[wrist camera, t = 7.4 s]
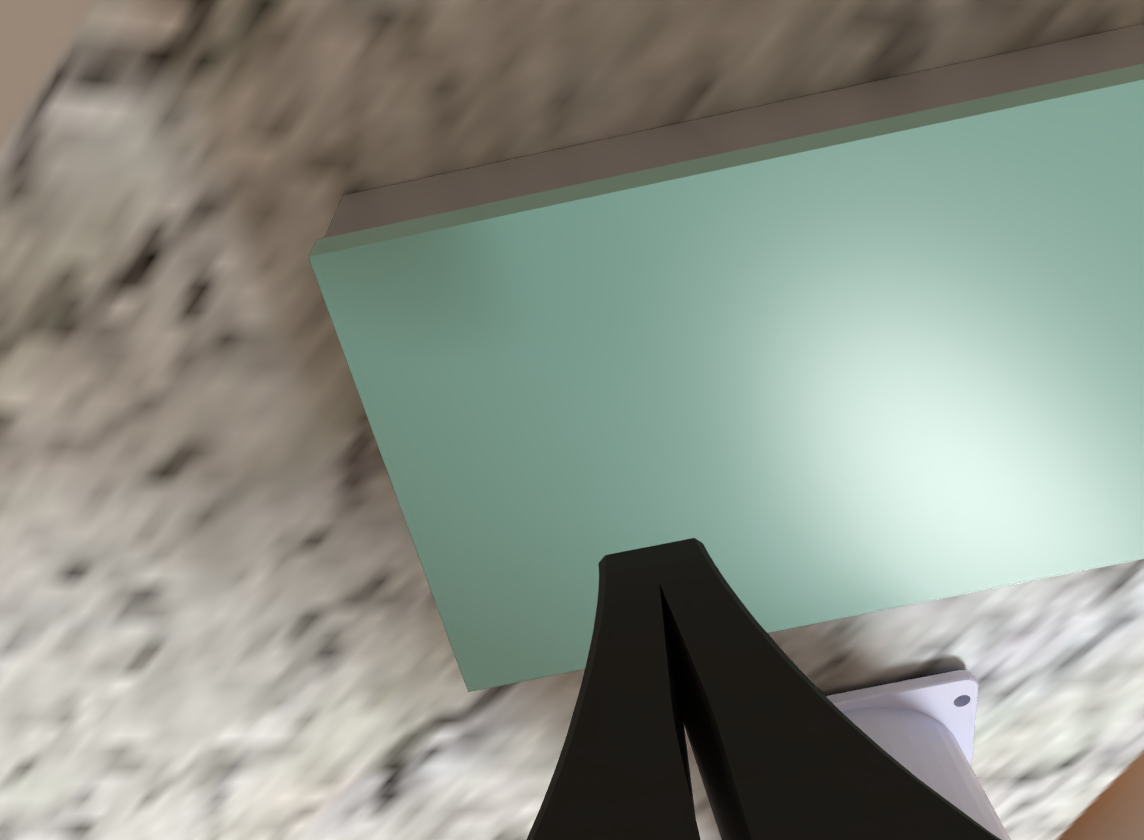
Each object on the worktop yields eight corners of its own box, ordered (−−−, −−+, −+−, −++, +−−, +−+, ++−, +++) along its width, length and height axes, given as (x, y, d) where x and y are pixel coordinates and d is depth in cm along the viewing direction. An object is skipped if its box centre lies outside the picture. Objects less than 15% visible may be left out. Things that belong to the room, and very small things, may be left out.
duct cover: (1416, 477, 20) (1449, 498, 19) (469, 665, 20) (468, 691, 20) (1616, -38, 14) (1672, -34, 14) (316, 239, 15) (307, 257, 14)
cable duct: (1287, 408, 23) (1415, 495, 20) (469, 573, 24) (467, 682, 21) (1413, -35, 18) (1619, -14, 15) (343, 195, 18) (312, 264, 15)
